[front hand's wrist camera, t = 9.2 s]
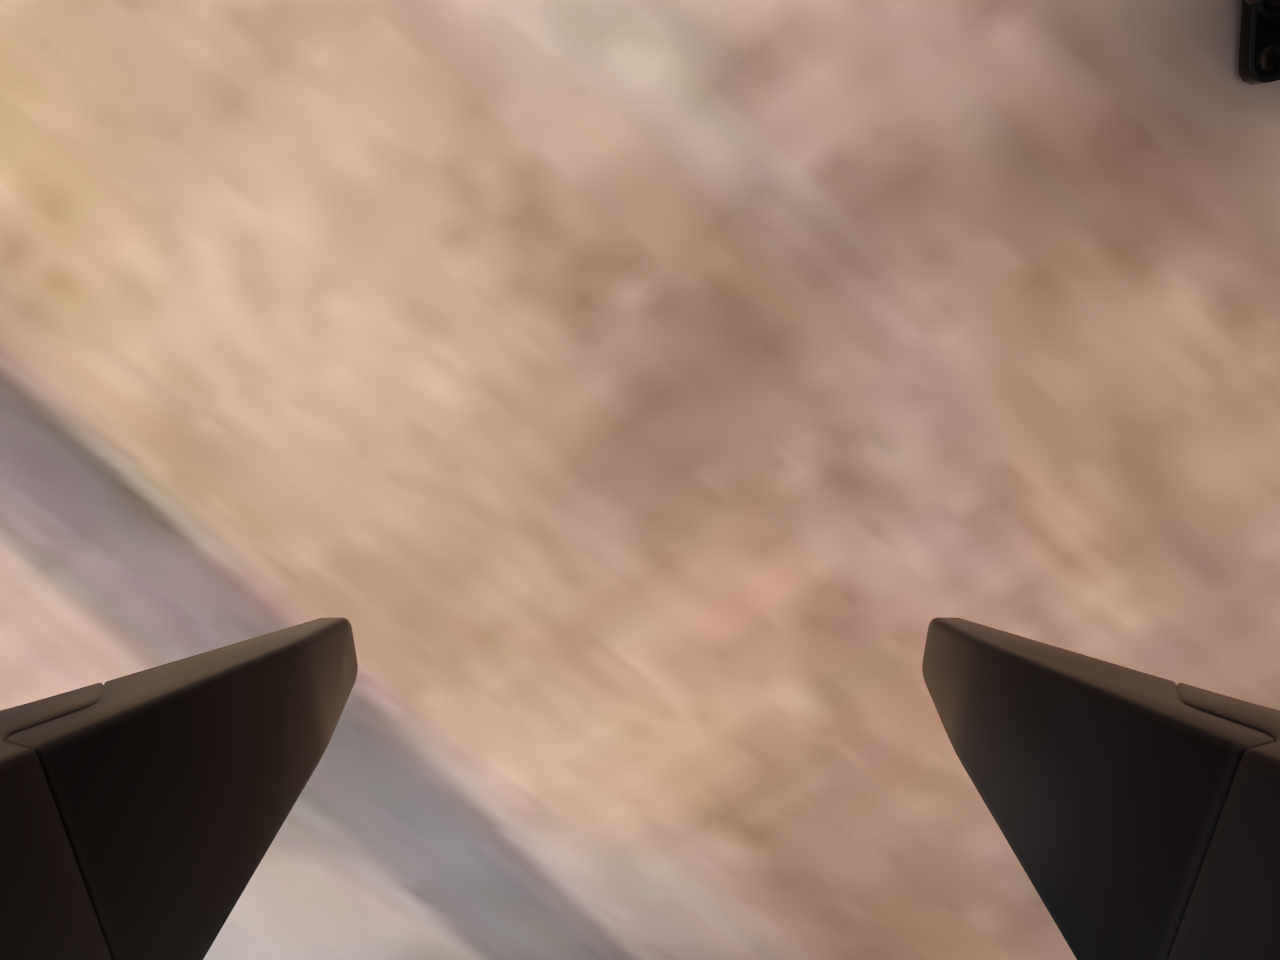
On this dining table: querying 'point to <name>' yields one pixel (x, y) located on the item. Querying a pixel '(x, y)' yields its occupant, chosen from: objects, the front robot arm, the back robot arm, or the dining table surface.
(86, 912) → the front robot arm
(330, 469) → the dining table surface
